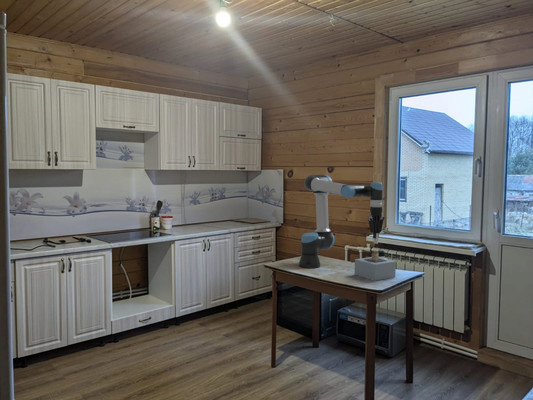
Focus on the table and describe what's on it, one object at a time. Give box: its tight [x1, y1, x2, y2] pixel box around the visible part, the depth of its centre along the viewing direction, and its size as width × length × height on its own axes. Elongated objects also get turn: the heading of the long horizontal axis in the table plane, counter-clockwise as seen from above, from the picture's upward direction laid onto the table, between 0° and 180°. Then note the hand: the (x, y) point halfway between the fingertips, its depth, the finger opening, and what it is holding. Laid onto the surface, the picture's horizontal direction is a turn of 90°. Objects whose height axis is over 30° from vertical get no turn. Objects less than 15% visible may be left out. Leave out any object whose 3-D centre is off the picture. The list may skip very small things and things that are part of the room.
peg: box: [371, 250, 379, 261], centre depth 270 cm, size 4×4×9 cm
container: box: [376, 249, 389, 260], centre depth 289 cm, size 8×8×13 cm
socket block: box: [354, 256, 397, 282], centre depth 271 cm, size 18×18×10 cm
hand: (375, 243), depth 269 cm, fingers closed
